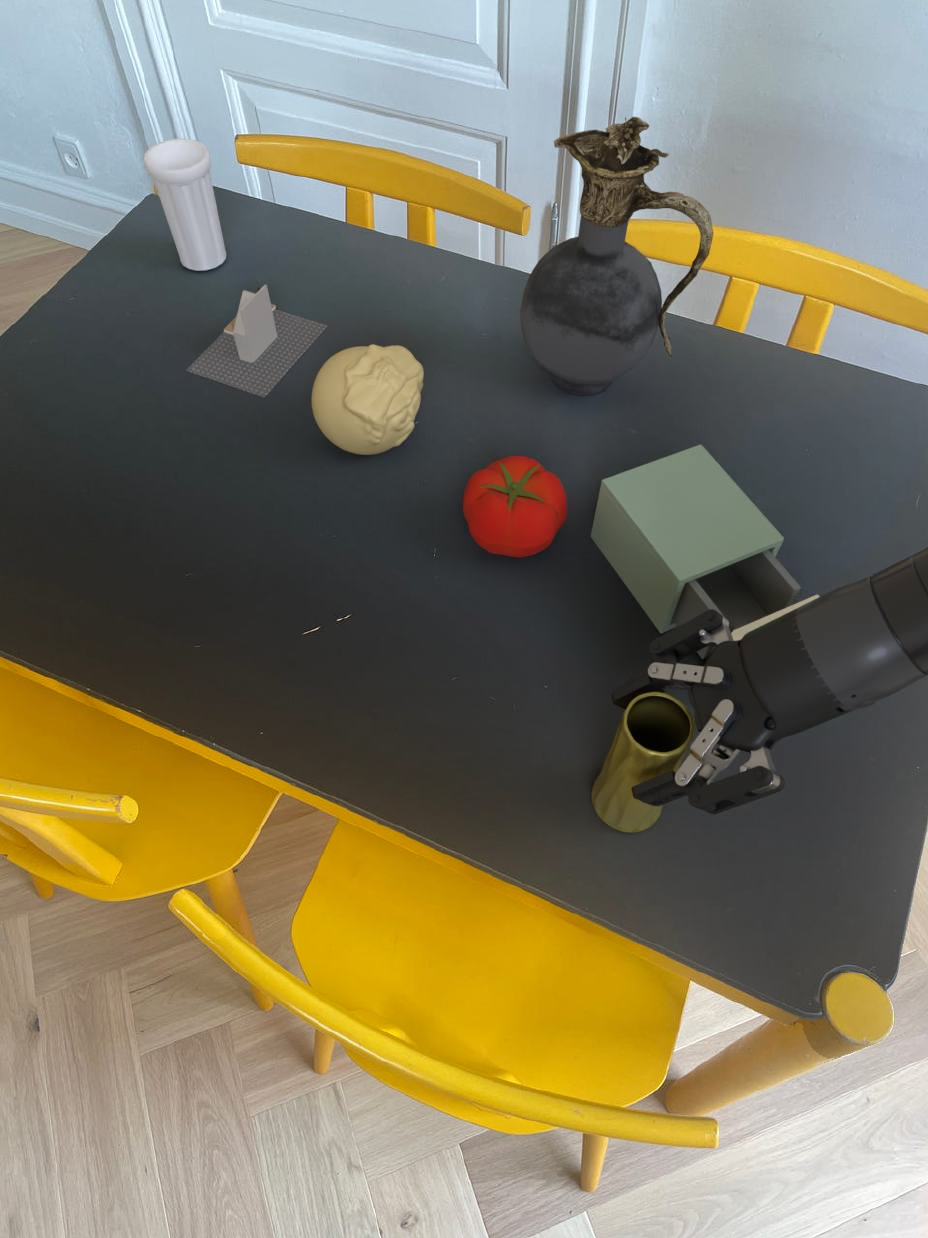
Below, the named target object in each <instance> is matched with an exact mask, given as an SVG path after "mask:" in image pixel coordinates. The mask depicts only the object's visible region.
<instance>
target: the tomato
mask: <svg viewBox="0 0 928 1238" xmlns="http://www.w3.org/2000/svg"><path fill="white" fill-rule="evenodd" d="M462 499H463V503H462V510H463V516H464V518H465V520H466V522H467V525H468V532H469V534H470V536H471V537H472V539H473V540H474V542H475V543H476V544H477V545H478V546H479V547H481V548H482V549H483V550H485V551H486V552H488V553H489V554H494V555H500V556H507V557H512V558H516V559H517V558H518V559H522V558H525V557H531V556H535V555H536V554H538V553H540V552H542V551H544V550H546V549H547V548H548V547H549V546H550V545H551V544H552V542H553V540H554V538H555V537H556V535H557V533H558V532H559V530H560V529H561V528H562V527H563V525H564V524H565V523H566V520H567V517H568V500H567V493H566V491H565V489H564V487H563V484H562V482H561V480H560V479H559V477H558V476H557V475H556V474H554V473H553V472H552V471H549V470H546V469H545V468H544V467H543V466H542V463H540V462H539V461H538V460H536V459H533V458H530V457H527V456H524V455H514V456H513V455H512V456H507V457H504V458H501V459H498V460H496V461H493V462H492V463H491V464H489V465H488V466H487V467H486V468H484V469H480V470H478V471H476V472H473V474H472V475H471V477H470V478H469V479H468V482H467V485H466V486H465V489H464V493H463V498H462Z"/></svg>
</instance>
